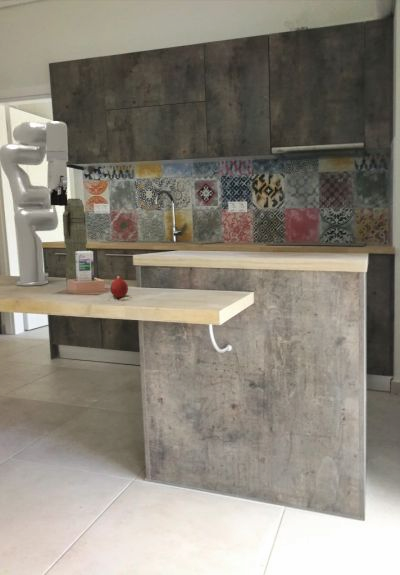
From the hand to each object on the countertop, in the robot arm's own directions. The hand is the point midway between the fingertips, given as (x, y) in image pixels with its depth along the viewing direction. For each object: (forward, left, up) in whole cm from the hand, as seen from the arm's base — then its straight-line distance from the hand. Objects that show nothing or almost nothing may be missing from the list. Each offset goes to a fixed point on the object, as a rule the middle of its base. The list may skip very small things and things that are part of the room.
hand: (58, 205), depth 195 cm
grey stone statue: (-16, -2, -32) cm, 36 cm away
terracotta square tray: (+2, +11, -31) cm, 33 cm away
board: (+2, +11, -32) cm, 34 cm away
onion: (+11, +28, -32) cm, 44 cm away
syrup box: (+2, +10, -31) cm, 33 cm away
